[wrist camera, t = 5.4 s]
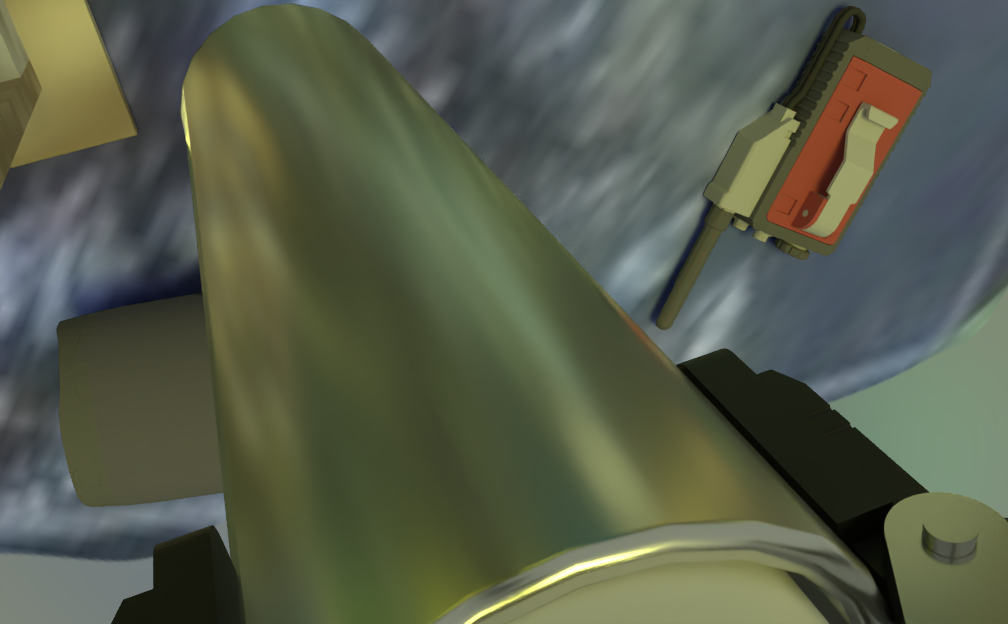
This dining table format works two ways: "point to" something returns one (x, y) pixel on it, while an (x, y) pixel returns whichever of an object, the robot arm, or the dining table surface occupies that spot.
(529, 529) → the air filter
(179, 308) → the bluetooth speaker
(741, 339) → the dining table surface
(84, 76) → the collar stand
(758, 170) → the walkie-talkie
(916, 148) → the dining table surface
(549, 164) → the dining table surface
